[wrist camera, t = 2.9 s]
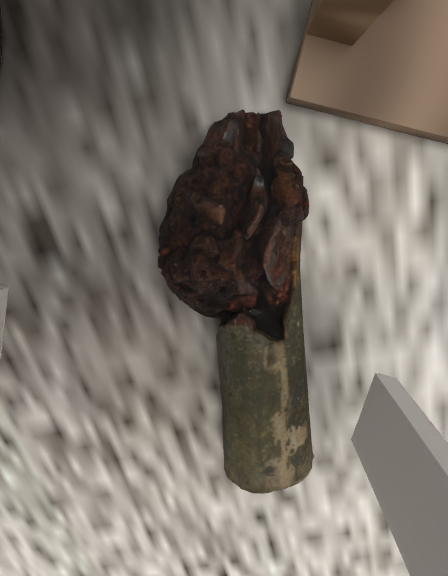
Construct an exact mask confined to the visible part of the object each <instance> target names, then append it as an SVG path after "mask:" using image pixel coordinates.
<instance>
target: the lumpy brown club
mask: <svg viewBox="0 0 448 576" xmlns="http://www.w3.org/2000/svg"><path fill="white" fill-rule="evenodd" d="M293 155H294V145H293V142H291V141H290V140H289V139H288V138H287V135H286V133H285V130H284V127H283V125H282V115H281V112H280V111H279V110H277V111H273V112H270V113H266V114H259V113H257V114H255V113H254V112H249V113H245V112H244V110H241V111H239V112H237V113H233V112H232V113H228V115H227V116H226V117H225V118H224V119H222V120H220V121H217V122H214V124H213V125H212V126H211V127H210V128H209V130H208V133H207V136H206V138H205V140H204V142H203V144H202V145H201V146H200V147H199V149H198V150H197V152H196V155H195V158H194V160H193V165H192V168H191V169H190V170H188V171H186V172H184V173H183V174H181V175H180V176H179V177H178V179H177V180H176V182H175V185H174V187H173V190H172V192H171V194H170V196H169V197H168V199H167V212H166V216H165V217H164V219H163V221H162V223H161V225H160V230H159V231H160V236H159V245H160V248H159V250H158V251H159V254H160V255H159V257H158V268H161V269H162V273H161V274H162V275H163V276H164V277H165V278H166V281H167V284H168V286H169V288H170V289H171V290H172V292H173V293H175V294H176V295H177V297H178V298H179V299H180V300H182V301H183V302H185V303H186V304H187V305H189V306H190V307H191V308H192V309H193V310H195V311H197V312H198V313H200V314H202V315H204V316H207V317H212V318H221V325H220V326H219V330H218V334H217V352H218V364H219V377H220V390H221V399H222V426H223V449H224V469H225V472H226V475H227V477H228V478H229V479H230V480H231V481H232V482H233V483H235V484H236V485H238V486H239V487H240V488H241V489H243V490H246V491H248V492H251V493H270V492H272V491H278V490H282V489H285V488H288V487H291V486H293V485H296V484H298V483H300V482H301V481H303V480H304V479H305V478H306V477H307V476H308V474H309V472H310V470H311V469H312V460H313V458H314V455H313V452H312V442H311V430H310V417H309V404H308V387H307V375H306V361H305V347H304V334H303V316H302V297H301V279H300V252H301V235H302V221H303V220H305V218H306V217H307V216H308V214H309V200H308V194H307V190H306V188H305V187H304V186H303V176H302V172H301V171H300V169H299V168H298V167H297V166H296V165H295V164H294V163H293V161H292V160H291V159H292V158H293Z"/></svg>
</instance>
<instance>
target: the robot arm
mask: <svg viewBox="0 0 448 576" xmlns="http://www.w3.org/2000/svg"><path fill="white" fill-rule="evenodd" d="M1 55H2V18H1V9H0V64H1ZM8 289H9V286H5V285H1V284H0V359H1V352H2V343H3V334H4V325H5V316H6V307H7V298H8ZM351 440H352V442H353V444H354V446H355V449H356V451H357V453H358V456H359V458H360V460H361V463H362V465H363V467H364V470H365V472H366V474H367V477H368V479H369V481H370V483H371V486H372V488H373V490H374V493H375V495H376V497H377V500H378V502H379V504H380V507H381V509H382V511H383V514H384V516H385V518H386V520H387V523H388V525H389V527H390V530H391V532H392V534H393V537H394V539H395V541H396V544H397V546H398V548H399V551H400V553H401V555H402V557H403V560H404V562H405V564H406V567H407V569H408V571H409V574H410V576H448V443H447V441H446V440H445V439H444V438H443V436H442V435H441V434H440V433H439V431H438V430H437V429H436V428H435V426H434V425H433V424H432V422H431V421H430V420H429V419H428V417H427V416H426V415H425V414H424V412H423V411H422V410H421V409H420V407H419V406H418V405H417V403H416V402H415V401H414V400H413V398H412V397H411V396H410V395H409V393H408V392H407V391H406V390H405V388H404V387H403V386H402V384H401V383H400V382H399V381H398V379H397V378H395V377H390V376H386V375H382V374H378V373H375V376H374V378H373V381H372V384H371V387H370V389H369V392H368V395H367V398H366V400H365V403H364V406H363V409H362V411H361V414H360V417H359V420H358V423H357V425H356V428H355V431H354V434H353V436H352V439H351Z"/></svg>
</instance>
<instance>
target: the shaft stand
mask: <svg viewBox="0 0 448 576" xmlns="http://www.w3.org/2000/svg"><path fill="white" fill-rule="evenodd" d="M286 103H290V104H294V105H298V106H302V107H306V108H310V109H314V110H317V111H321V112H325V113H329V114H333V115H337V116H341V117H345V118H349V119H353V120H357V121H361V122H365V123H369V124H373V125H377V126H380V127H384V128H388V129H392V130H396V131H400V132H404V133H408V134H412V135H416V136H420V137H424V138H428V139H432V140H436V141H440V142H444V143H447V144H448V0H312V4H311V8H310V12H309V16H308V19H307V23H306V27H305V31H304V35H303V39H302V43H301V47H300V51H299V54H298V58H297V62H296V66H295V70H294V74H293V78H292V82H291V86H290V90H289V93H288V97H287V101H286Z"/></svg>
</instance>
